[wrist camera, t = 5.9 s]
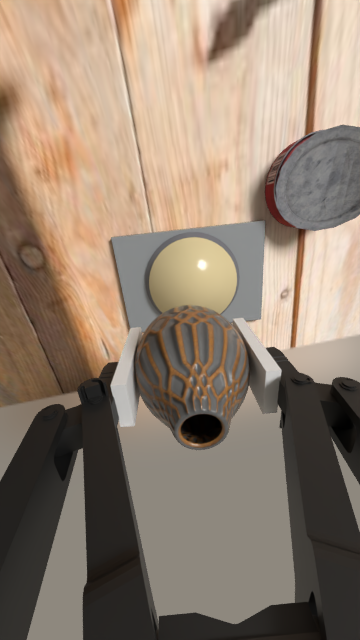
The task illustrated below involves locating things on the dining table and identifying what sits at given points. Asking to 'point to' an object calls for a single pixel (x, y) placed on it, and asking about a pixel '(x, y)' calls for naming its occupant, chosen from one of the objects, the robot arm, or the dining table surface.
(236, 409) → the vase
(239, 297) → the board
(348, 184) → the canned food
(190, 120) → the dining table surface
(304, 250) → the dining table surface
